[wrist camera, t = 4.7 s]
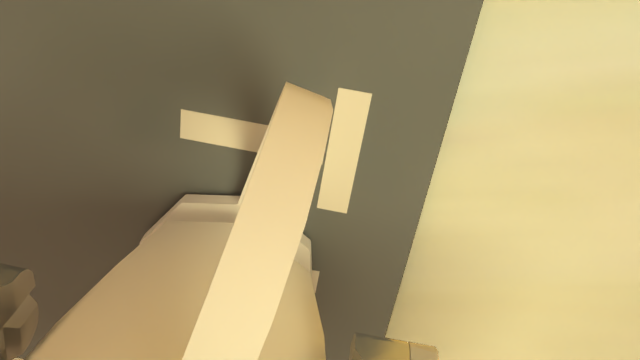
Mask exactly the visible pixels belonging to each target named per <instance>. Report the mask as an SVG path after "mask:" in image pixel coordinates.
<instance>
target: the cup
mask: <svg viewBox="0 0 640 360" xmlns="http://www.w3.org/2000/svg"><path fill="white" fill-rule="evenodd" d="M332 114H333V107H332V103H331V99H328V98H326V97H323V96H321V95H319V94H316V93H314V92H311V91H309V90H306V89H304V88H301V87H299V86H296V85H294V84H291V83H289V82H286V83H285V85H284V88H283V90H282V93H281V95H280V97H279V100H278V102H277V105H276V107H275V110H274V112H273V115H272V117H271V120H270V122H269V125H268V127H267V130H266V132H265V135H264V137H263V140H262V142H261V145H260V147H259V150H258V153H257V155H256V158H255V160H254V163H253V165H252V168H251V170H250V173H249V175H248V178H247V181H246V183H245V186H244V188H243V191H242V193H241V196H229V195H197V194H186V195H185V196H184V197H182V198H181V199H180V200H179V201H178V202H177V203H176V204H175V205H174V206H173V207H172V208H171V209H170V210H169V211H168V212H167V213H166V214H165V215H164V216H163V217H162V218H161V219H160V220H159V221H158V222H157V223H156V224H154V225H153V226H152V227H151V228H150V229H149V230H148V231H147V232H146V233H145V234H144V236H143V238H142V239H141V241H140V243H139V244H140V245H139V246H138V247H137V248H135V249H134V250H133V251H132V252H131V253H130V254H128V255H127V256H126V257H125V258H124V259H123V260H122V261H120V262H119V263H118V264H117V265H116V266H115V267H114V268H113V269H112V270H111V271H110V272H109V273H108V274H107V275H106V276H104V277H103V278H102V279H101V280H100V281H99V282H98V283H97V284H96V285H95V286H94V287H93V288H92V289H91V290H90V291H89V292H88V293H87V294H86V295H85V296H84V297H83V298H82V299H81V300H79V301H78V302H77V303H76V304H75V305H74V306H73V307H72V308H71V309H70V310H69V311H68V312H67V313H66V314H65V315H64V316H63V317H62V318H61V319H60V320H59V321H58V322H57V323H56V324H55V325H54V326H53V327H52V328H51V329H50V330H49V332H48V333H47V334H46V335H45V336H44V337H43V338H42V339H41V341H40V342H39V343H38V344H37V345H36V346H35V347H34V348H33V349H32V351H31V352H30V353H29V354H28V355H27V356H26V357H25V358H24V360H326V355H325V340H324V333H323V328H322V324H321V320H320V315H319V311H318V306H317V302H316V297H315V293H314V289H313V284H312V256H311V240H310V239H309V238H308V237H306V236H305V235H304V234H303V231H304V228H305V225H306V221H307V217H308V213H309V210H310V206H311V202H312V198H313V194H314V191H315V187H316V183H317V179H318V175H319V171H320V168H321V164H322V160H323V156H324V152H325V148H326V143H327V138H328V133H329V129H330V124H331V119H332Z"/></svg>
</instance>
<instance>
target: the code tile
mask: <svg viewBox="0 0 640 360" xmlns="http://www.w3.org/2000/svg"><path fill="white" fill-rule="evenodd" d="M483 1H484V0H0V263H2V264H7V265H12V266H16V267H21V268H25V269H28V270H30V271H32V272H33V274H34V280H35V287H34V288H33V290H32V291H31V292H30V295H31V297H32V298H33V299H34V300H35V301H36V302H37V303H38V311H39V316H38V324H37V328H36V330H35V333H34V336H33V338H32V341H31V342H30V344H29V345H28V347H27V348H26V350H25V351H24V353H23V354H21V355H20V356H18V357H17V358H22V359H24V358H25V357H26V356H27V355H28V354H29V353H30V352H31V351H32V349H33V348H34V347H35V346H36V345H37V344H38V343H39V342H40V341H41V339H42V338H43V337H44V336H45V335H46V334H47V333H48V332H49V330H50V329H51V328H52V327H53V326H54V325H55V324H56V323H57V322H58V321H59V320H60V319H61V318H62V317H63V316H64V315H65V314H66V313H67V312H68V311H69V310H70V309H71V308H72V307H73V306H74V305H75V304H76V303H77V302H78V301H79V300H81V299H82V298H83V297H84V296H85V295H86V294H87V293H88V292H89V291H90V290H91V289H92V288H93V287H94V286H95V285H96V284H97V283H98V282H99V281H100V280H101V279H102V278H103V277H104V276H106V275H107V274H108V273H109V272H110V271H111V270H112V269H113V268H114V267H115V266H116V265H117V264H118V263H119V262H120V261H122V260H123V259H124V258H125V257H126V256H127V255H128V254H130V253H131V252H132V251H133V250H134V249H135V248H137V247H138V246H139V245H140V244H139V243H140V241H141V239H142V238H143V236H144V234H145V233H146V232H147V231H148V230H149V229H150V228H151V227H152V226H153V225H154V224H156V223H157V222H158V221H159V220H160V219H161V218H162V217H163V216H164V215H165V214H166V213H167V212H168V211H169V210H170V209H171V208H172V207H173V206H174V205H175V204H176V203H177V202H178V201H179V200H180V199H181V198H182V197H184V196H185V195H186V194H197V195H229V196H241V193H242V191H243V188H244V186H245V183H246V181H247V178H248V175H249V173H250V170H251V168H252V165H253V163H254V160H255V158H256V155H257V153H258V150H259V147H260V145H261V142H262V140H263V137H264V135H265V132H266V130H267V127H268V125H269V122H270V120H271V117H272V115H273V112H274V110H275V107H276V105H277V102H278V100H279V97H280V95H281V93H282V90H283V88H284V85H285V83H286V82H289V83H291V84H294V85H296V86H299V87H301V88H304V89H306V90H309V91H311V92H314V93H316V94H319V95H321V96H323V97H326V98H328V99H331V103H332V107H333V114H332V119H331V124H330V129H329V133H328V138H327V143H326V148H325V152H324V156H323V160H322V164H321V168H320V171H319V175H318V179H317V183H316V187H315V191H314V194H313V198H312V202H311V206H310V210H309V213H308V217H307V221H306V225H305V228H304V231H303V234H304V235H305V236H306V237H308V238H309V239H310V240H311V256H312V284H313V289H314V293H315V297H316V302H317V306H318V311H319V315H320V320H321V324H322V328H323V333H324V340H325V355H326V360H349V354H350V346H351V342H352V338H353V335H354V333H355V332H357V333H363V334H368V335H374V336H379V337H385V335H386V331H387V328H388V324H389V321H390V318H391V314H392V311H393V307H394V304H395V301H396V297H397V294H398V290H399V287H400V284H401V280H402V277H403V273H404V270H405V267H406V263H407V260H408V256H409V253H410V249H411V246H412V243H413V239H414V236H415V232H416V229H417V226H418V222H419V219H420V215H421V212H422V209H423V205H424V202H425V198H426V195H427V191H428V188H429V185H430V181H431V178H432V174H433V171H434V168H435V164H436V161H437V157H438V154H439V151H440V147H441V144H442V140H443V137H444V134H445V130H446V127H447V123H448V120H449V116H450V113H451V110H452V106H453V103H454V99H455V96H456V93H457V89H458V86H459V82H460V79H461V76H462V72H463V69H464V65H465V62H466V58H467V55H468V52H469V48H470V45H471V41H472V38H473V35H474V31H475V28H476V24H477V21H478V18H479V14H480V11H481V7H482V4H483Z"/></svg>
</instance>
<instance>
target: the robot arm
mask: <svg viewBox="0 0 640 360" xmlns="http://www.w3.org/2000/svg"><path fill="white" fill-rule="evenodd" d="M34 287H35V280H34V274H33V272H32V271H30V270H28V269H25V268H21V267H16V266H12V265H7V264H2V263H0V360H12V359H14V358H16V357H18V356H20V355H21V354H23V353H24V351H25V350H26V348H27V347H28V345H29V344H30V342H31V341H32V338H33V336H34V333H35V330H36V328H37V324H38V316H39V311H38V303H37V302H36V301H35V300H34V299H33V298H32V297H31V295H30V292H31V291H32V290H33V288H34ZM349 360H439V357H438V351H437V349H436V347H434V346H429V345H423V344H418V343H412V342H408V343H407V342H406V341H401V340H395V339H390V338H385V337H379V336H374V335H368V334H363V333H357V332H355V333H354V335H353V338H352V342H351V346H350V354H349Z"/></svg>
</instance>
